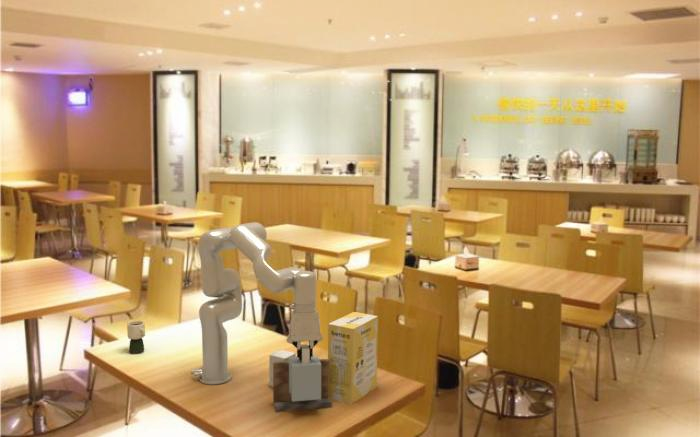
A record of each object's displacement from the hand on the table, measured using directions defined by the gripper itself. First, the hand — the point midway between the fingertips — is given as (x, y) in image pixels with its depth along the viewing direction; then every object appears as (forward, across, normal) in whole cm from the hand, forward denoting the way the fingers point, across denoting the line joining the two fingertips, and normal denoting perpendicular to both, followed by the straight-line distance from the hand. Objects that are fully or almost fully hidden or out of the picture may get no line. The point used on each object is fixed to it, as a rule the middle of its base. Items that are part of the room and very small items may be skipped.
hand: (304, 358), depth 222 cm
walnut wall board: (+19, 0, +5) cm, 19 cm away
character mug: (+19, -63, +70) cm, 96 cm away
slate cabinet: (+13, 0, 0) cm, 13 cm away
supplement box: (+19, -5, +23) cm, 30 cm away
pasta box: (+19, +20, +12) cm, 30 cm away
